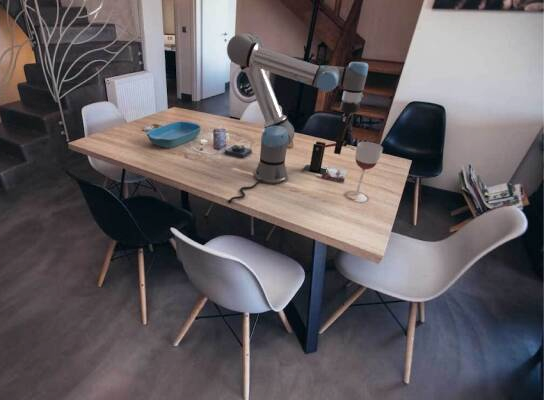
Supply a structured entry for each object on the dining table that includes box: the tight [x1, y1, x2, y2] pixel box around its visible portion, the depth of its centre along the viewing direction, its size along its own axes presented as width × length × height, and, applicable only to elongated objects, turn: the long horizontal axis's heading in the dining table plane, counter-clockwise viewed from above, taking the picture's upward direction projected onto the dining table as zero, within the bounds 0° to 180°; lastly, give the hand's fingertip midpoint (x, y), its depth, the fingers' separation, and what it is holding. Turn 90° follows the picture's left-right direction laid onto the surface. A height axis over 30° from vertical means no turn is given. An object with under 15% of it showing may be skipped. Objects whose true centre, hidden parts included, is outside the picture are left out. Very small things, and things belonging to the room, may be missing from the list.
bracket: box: [301, 141, 328, 176], centre depth 150 cm, size 11×8×15 cm
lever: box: [318, 140, 346, 149], centre depth 144 cm, size 13×6×2 cm, turn 58°
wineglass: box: [346, 141, 384, 203], centre depth 127 cm, size 9×10×23 cm
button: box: [234, 142, 243, 148], centre depth 171 cm, size 4×4×2 cm
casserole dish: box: [146, 120, 202, 149], centre depth 189 cm, size 37×22×7 cm, turn 146°
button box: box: [224, 144, 253, 159], centre depth 173 cm, size 10×12×4 cm
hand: (340, 149), depth 143 cm, fingers open, 12 cm apart
